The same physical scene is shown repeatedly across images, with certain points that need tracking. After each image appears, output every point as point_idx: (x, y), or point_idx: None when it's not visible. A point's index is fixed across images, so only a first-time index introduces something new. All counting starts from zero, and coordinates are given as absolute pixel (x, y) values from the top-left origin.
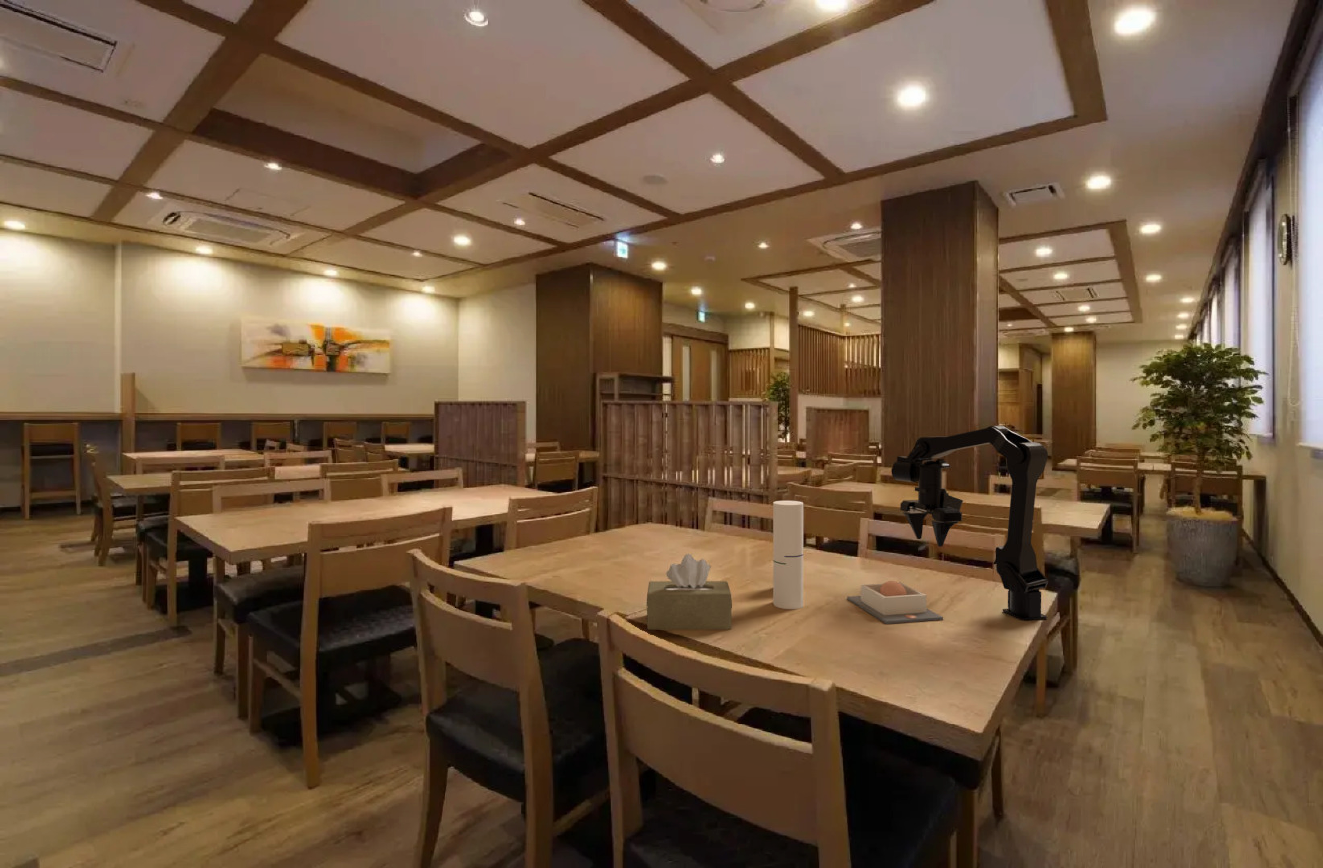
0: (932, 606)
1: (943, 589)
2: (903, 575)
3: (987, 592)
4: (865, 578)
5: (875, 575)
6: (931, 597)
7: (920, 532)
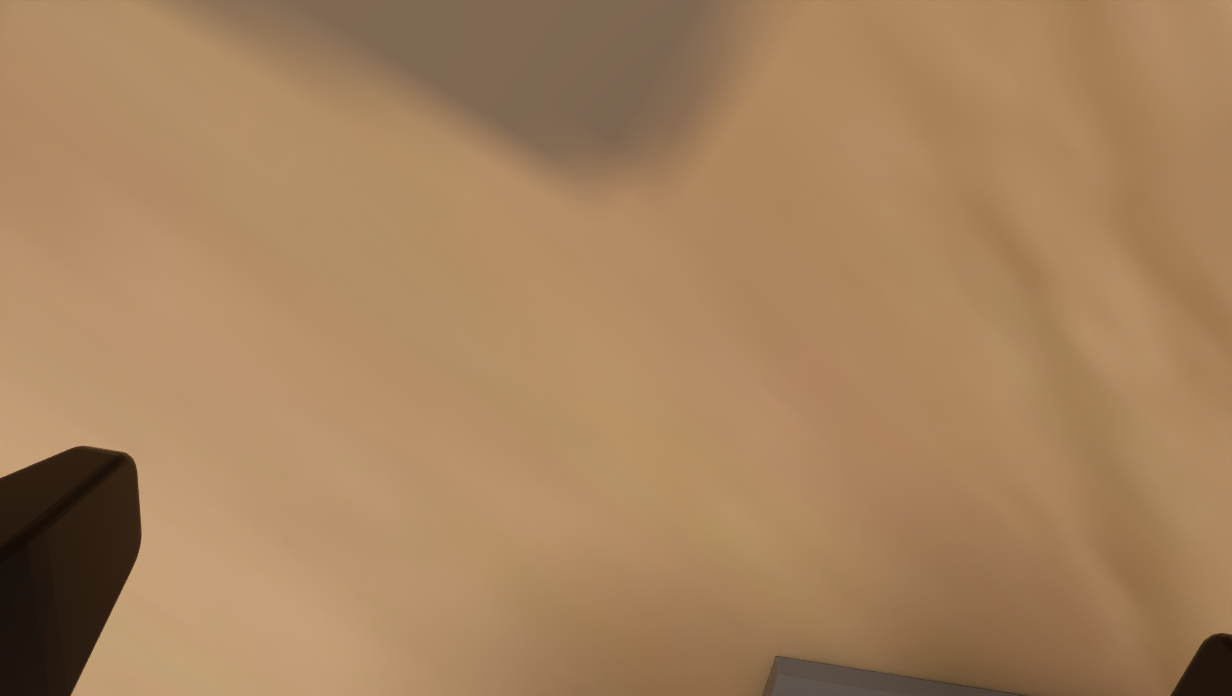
0: (1193, 611)
1: (829, 38)
2: (39, 43)
3: None
4: None
5: (3, 385)
6: (990, 424)
7: (5, 633)
